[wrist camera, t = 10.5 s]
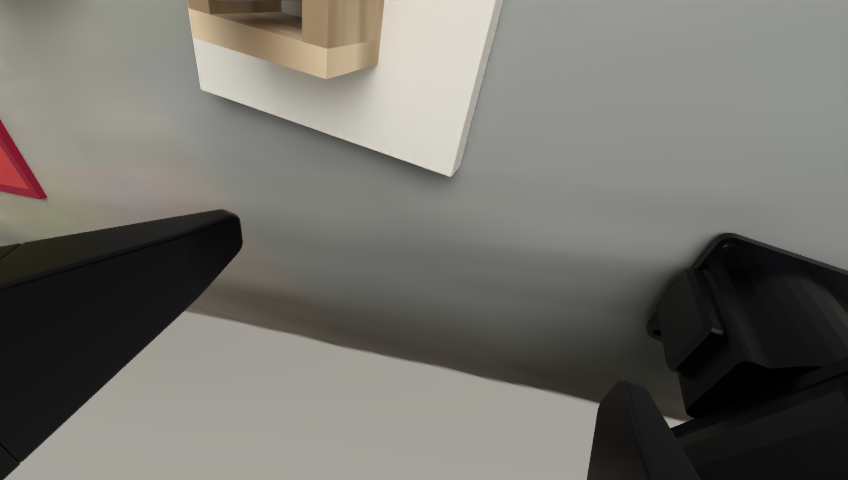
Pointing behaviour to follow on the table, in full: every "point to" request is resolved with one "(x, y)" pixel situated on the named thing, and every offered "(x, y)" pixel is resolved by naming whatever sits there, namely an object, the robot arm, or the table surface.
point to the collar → (295, 32)
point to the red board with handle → (16, 170)
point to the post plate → (378, 82)
